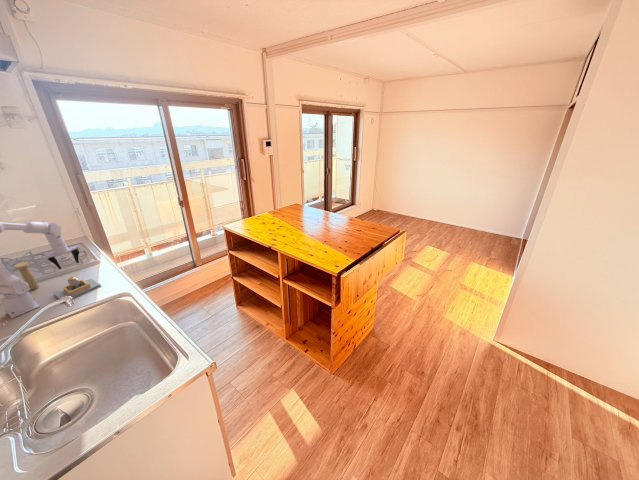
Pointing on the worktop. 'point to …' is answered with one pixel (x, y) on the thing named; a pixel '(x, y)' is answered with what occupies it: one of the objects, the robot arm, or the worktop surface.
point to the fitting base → (78, 289)
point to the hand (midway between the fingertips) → (69, 265)
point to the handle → (27, 275)
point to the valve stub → (74, 283)
